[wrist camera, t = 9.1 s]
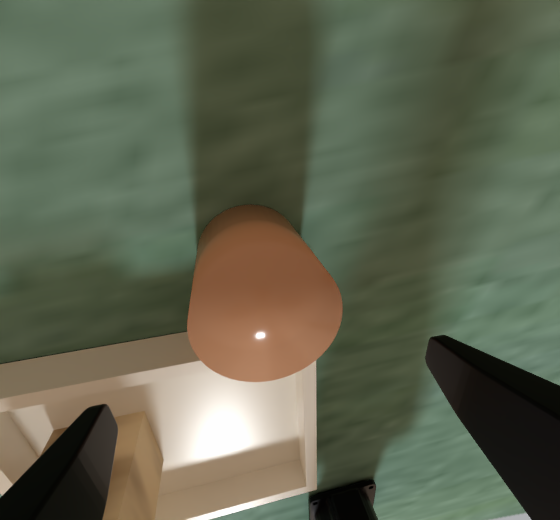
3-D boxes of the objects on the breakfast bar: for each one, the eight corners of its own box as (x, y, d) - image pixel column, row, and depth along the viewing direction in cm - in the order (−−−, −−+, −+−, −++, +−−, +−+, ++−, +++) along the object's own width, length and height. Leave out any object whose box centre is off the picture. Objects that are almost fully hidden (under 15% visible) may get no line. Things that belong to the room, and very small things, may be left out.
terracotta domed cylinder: (300, 289, 17) (340, 365, 12) (206, 305, 16) (203, 395, 11) (297, 198, 14) (345, 241, 9) (187, 211, 14) (169, 265, 8)
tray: (307, 455, 24) (316, 489, 22) (76, 514, 21) (60, 560, 19) (303, 311, 17) (315, 338, 15) (-29, 369, 15) (-72, 412, 12)
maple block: (84, 478, 19) (32, 618, 13) (53, 430, 17) (-22, 573, 11) (163, 460, 20) (144, 584, 14) (144, 410, 17) (113, 536, 12)
